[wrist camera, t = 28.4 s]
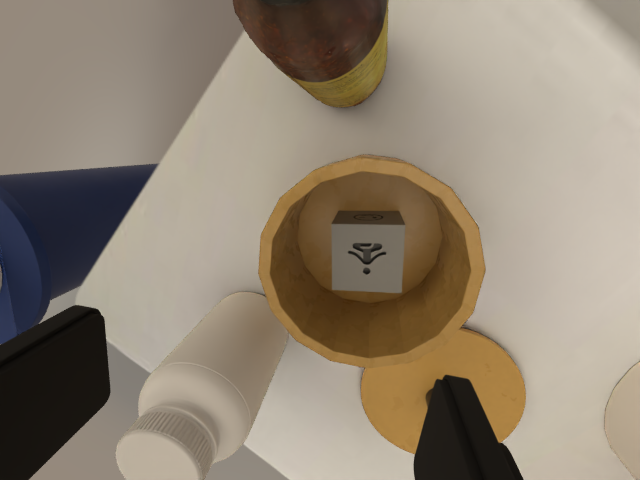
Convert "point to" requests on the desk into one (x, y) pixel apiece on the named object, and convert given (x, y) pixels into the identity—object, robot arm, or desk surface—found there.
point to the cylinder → (625, 420)
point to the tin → (372, 307)
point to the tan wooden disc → (420, 375)
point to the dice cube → (368, 251)
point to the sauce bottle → (322, 43)
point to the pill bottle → (204, 393)
